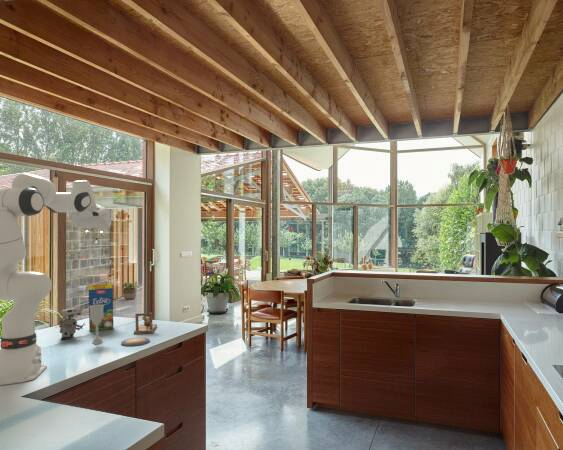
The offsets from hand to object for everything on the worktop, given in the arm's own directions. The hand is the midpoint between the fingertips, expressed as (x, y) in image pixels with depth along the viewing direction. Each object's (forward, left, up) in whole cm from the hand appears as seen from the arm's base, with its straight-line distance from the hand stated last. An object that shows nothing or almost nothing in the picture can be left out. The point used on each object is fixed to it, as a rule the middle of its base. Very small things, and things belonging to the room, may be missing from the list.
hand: (94, 234), depth 224 cm
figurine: (+3, +12, -53) cm, 54 cm away
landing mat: (-24, -17, -53) cm, 60 cm away
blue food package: (+16, -2, -53) cm, 55 cm away
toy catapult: (0, -24, -53) cm, 58 cm away
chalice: (-15, 0, -53) cm, 55 cm away
